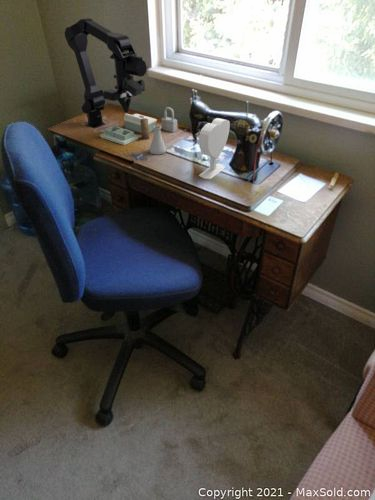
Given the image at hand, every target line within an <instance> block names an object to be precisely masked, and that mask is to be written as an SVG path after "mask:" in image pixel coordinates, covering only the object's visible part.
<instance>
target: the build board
mask: <svg viewBox="0 0 375 500" xmlns="http://www.w3.org/2000/svg"><path fill="white" fill-rule="evenodd" d="M99 136H100V138H102V139H104V140H108V141H112V142H113V143H117V144H120V145H122V146H125V145H128V144H129V143H132V142H135V141H137V140H138V139H140V135H138V134H135V131H132V130H129V129H126V128H122V127H119V126H117V125H112V126H109V127H106V128H104V129H103V133H101V134H100V135H99Z"/></svg>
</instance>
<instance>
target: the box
mask: <svg viewBox="0 0 375 500" xmlns="http://www.w3.org/2000/svg"><path fill="white" fill-rule="evenodd" d="M123 121H124V122H123V123H124V129H127V130H130V131H133V132H134V133H135V132H136V133H139V134H141V125H138V124H135V123H131V122H128V121H125V120H124V119H123ZM148 126H149V133H152V132H154V129H153V126H158V125H157V121H156V122H154V123H151V124H149V125H148Z"/></svg>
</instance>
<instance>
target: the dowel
mask: <svg viewBox="0 0 375 500" xmlns="http://www.w3.org/2000/svg"><path fill="white" fill-rule="evenodd" d="M140 134H141V139H142V140H144V141H147V140H149V139H150V132H149V126H148V119H146V118H143V119H141V133H140Z"/></svg>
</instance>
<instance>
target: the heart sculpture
mask: <svg viewBox="0 0 375 500" xmlns="http://www.w3.org/2000/svg"><path fill="white" fill-rule="evenodd" d="M230 124H231V122H230V120H229V119H224V118H220V117H216V118H214V119H213V120H212V122H211V123H210V122H208V123H206V124H205V125H203V127H202V128H201V130H200V132H199V137H198V143H199V144H198V145H199V146H198V147H199V149H200V151H201V153H203V154H204V155H205V156H208V157H209V159H210V160H209V167H207V168H206V169H204V171H203V172H201V173H200V174H198V176H199V177H200V178H202V179H206V180H210V179H211V180H212V179H213V178H214V177H216V175H218V174H219V173H220V172H221V171H223V170H224V169H225V168H226V167H225V166H226V165H225V164H222V163H217V160H218V159H219V157H220V156H221V154H222V151H223V150H224V148H225V147H226V144H227V142H228V137H229V135H230V134H229V133H230V127H231V125H230Z"/></svg>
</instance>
